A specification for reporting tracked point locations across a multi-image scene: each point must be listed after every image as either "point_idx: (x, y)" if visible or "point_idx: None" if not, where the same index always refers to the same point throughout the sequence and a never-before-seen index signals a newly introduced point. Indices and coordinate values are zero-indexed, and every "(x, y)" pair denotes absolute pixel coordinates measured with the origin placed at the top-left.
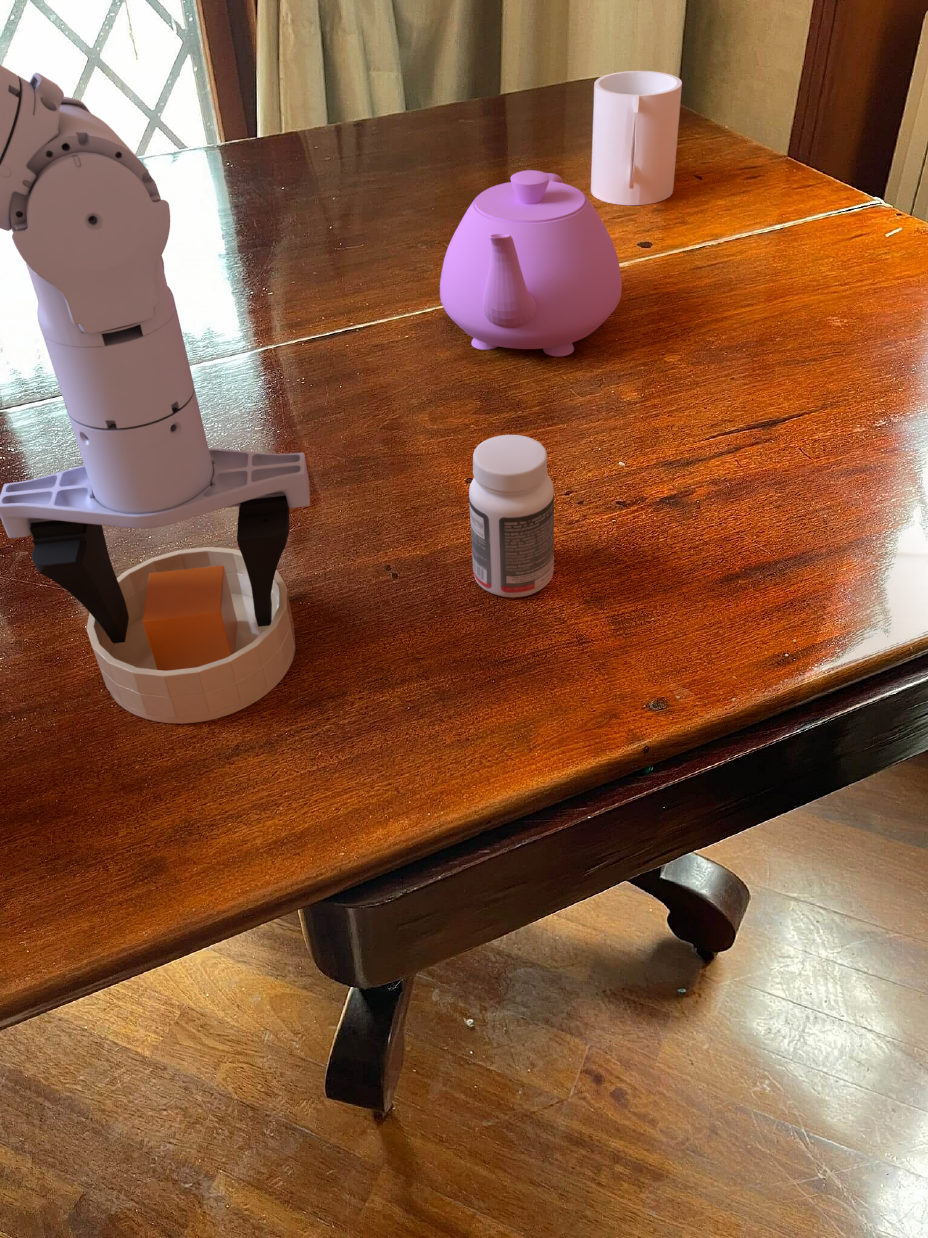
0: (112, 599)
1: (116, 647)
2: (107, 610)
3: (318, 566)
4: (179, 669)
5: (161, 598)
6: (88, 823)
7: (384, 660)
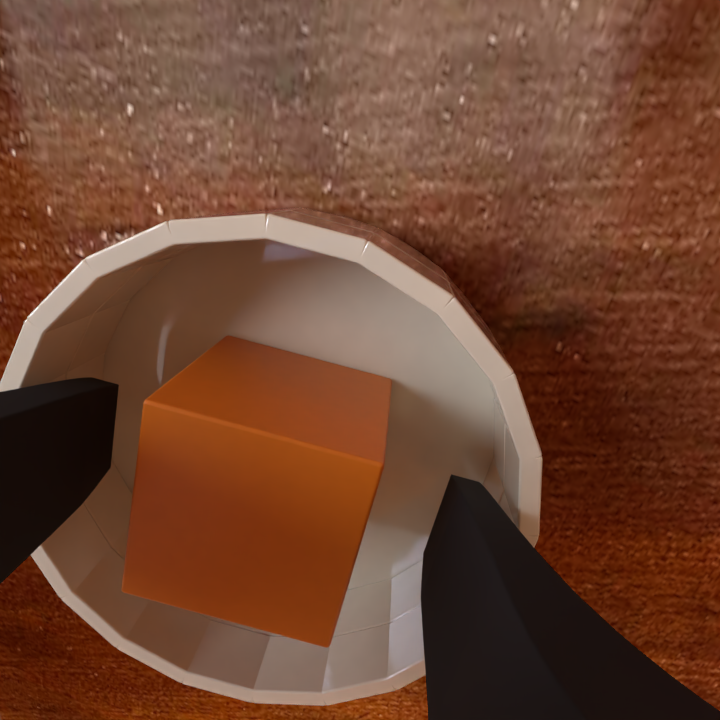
0: (28, 502)
1: (115, 350)
2: (12, 570)
3: (666, 217)
4: (215, 679)
5: (175, 533)
6: (89, 680)
7: (643, 587)
